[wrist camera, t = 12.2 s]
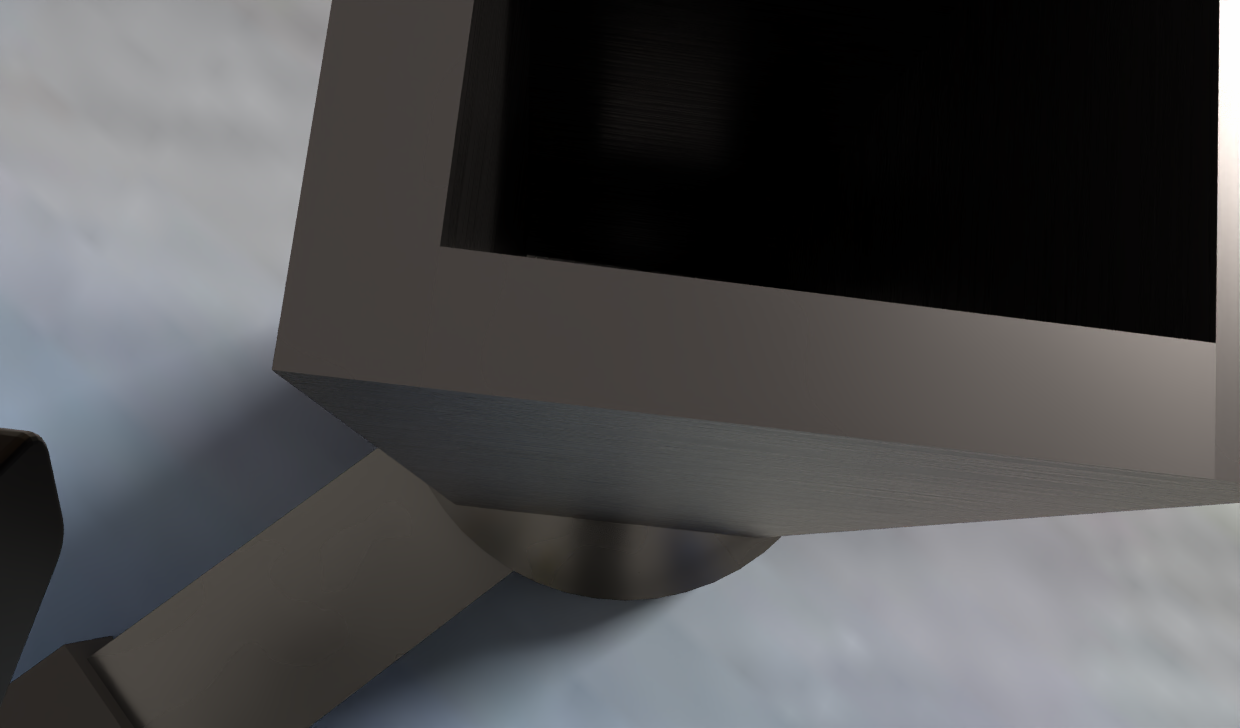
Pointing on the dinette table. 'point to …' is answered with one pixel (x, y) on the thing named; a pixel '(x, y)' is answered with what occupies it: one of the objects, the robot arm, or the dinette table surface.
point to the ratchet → (345, 603)
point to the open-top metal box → (779, 256)
